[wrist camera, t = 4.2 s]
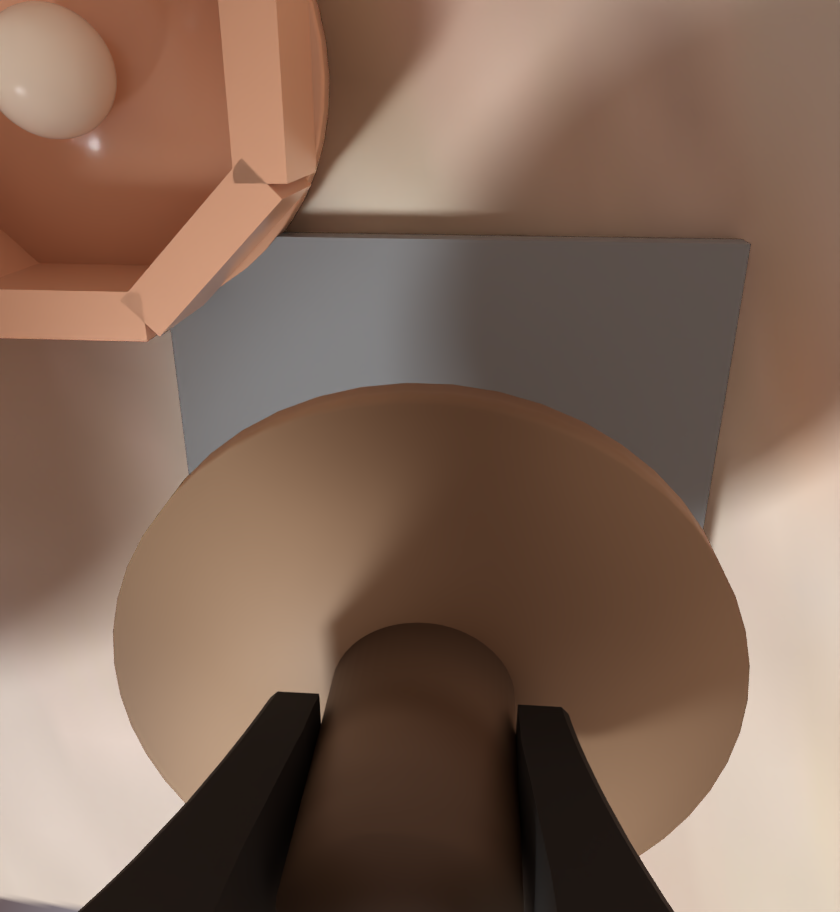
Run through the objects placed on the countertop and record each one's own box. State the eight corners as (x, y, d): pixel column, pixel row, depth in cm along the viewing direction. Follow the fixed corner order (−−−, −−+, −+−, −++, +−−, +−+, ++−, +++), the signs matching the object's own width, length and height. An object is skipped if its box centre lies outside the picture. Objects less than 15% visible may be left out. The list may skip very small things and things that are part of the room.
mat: (223, 679, 22) (216, 693, 21) (169, 230, 17) (159, 234, 17) (666, 702, 21) (671, 718, 21) (741, 239, 16) (750, 243, 16)
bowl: (-63, 299, 18) (-180, 341, 15) (-186, -207, 14) (-375, -294, 11) (338, 308, 18) (305, 353, 14) (318, -218, 14) (268, -313, 11)
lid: (191, 860, 15) (89, 1131, 11) (70, 393, 11) (-153, 560, 7) (704, 874, 15) (786, 1173, 11) (770, 371, 10) (945, 550, 6)
